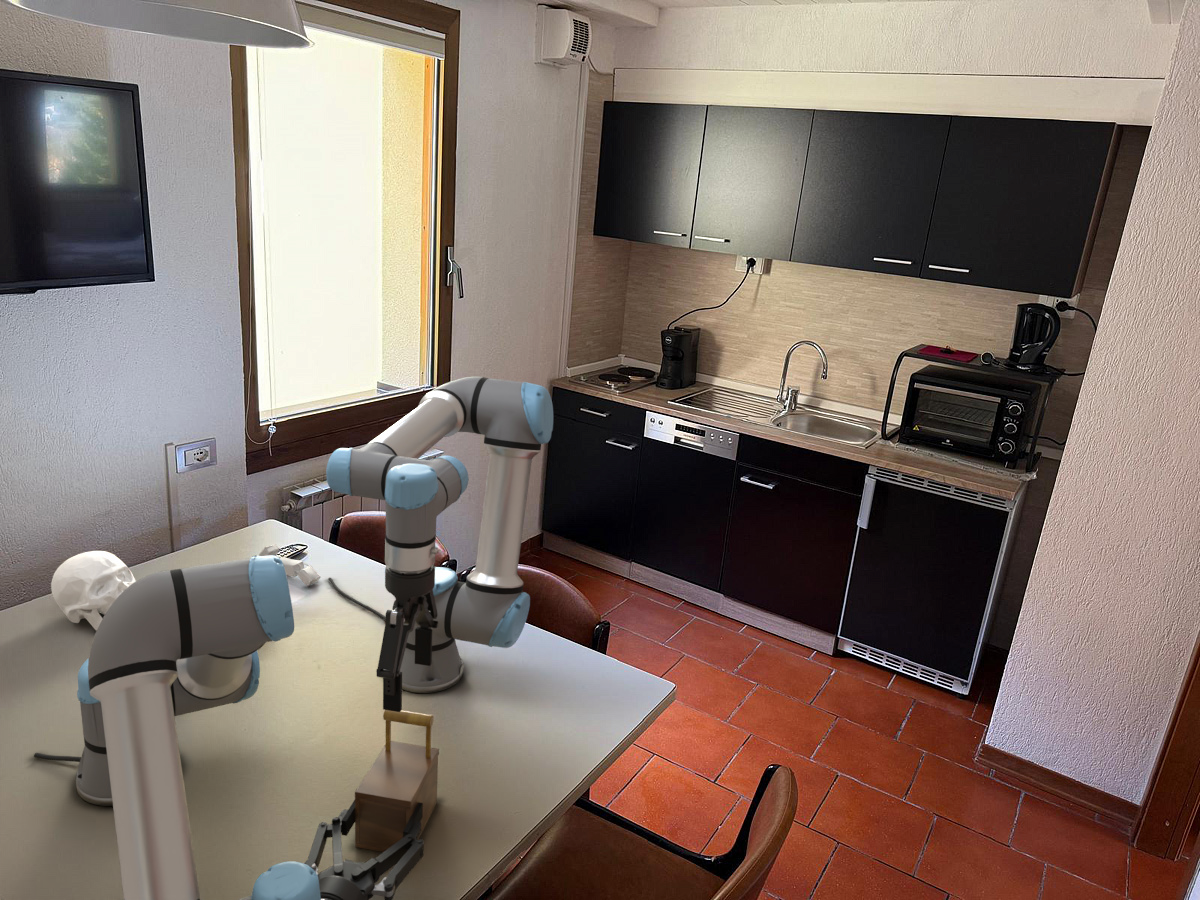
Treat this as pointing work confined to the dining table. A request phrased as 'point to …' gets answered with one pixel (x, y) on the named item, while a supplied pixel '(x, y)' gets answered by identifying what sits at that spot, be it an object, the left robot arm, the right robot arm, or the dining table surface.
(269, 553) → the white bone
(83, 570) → the skull
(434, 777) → the chest
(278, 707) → the dining table surface
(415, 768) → the lid
